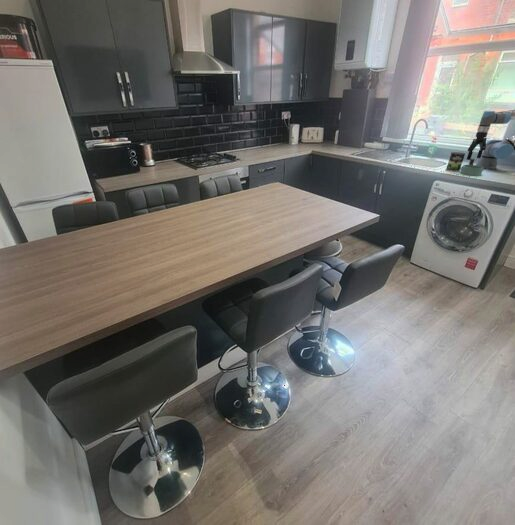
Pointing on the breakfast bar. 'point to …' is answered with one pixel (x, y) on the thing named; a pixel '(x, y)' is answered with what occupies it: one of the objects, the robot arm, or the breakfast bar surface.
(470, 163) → the pot lid
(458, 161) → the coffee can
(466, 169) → the pot
